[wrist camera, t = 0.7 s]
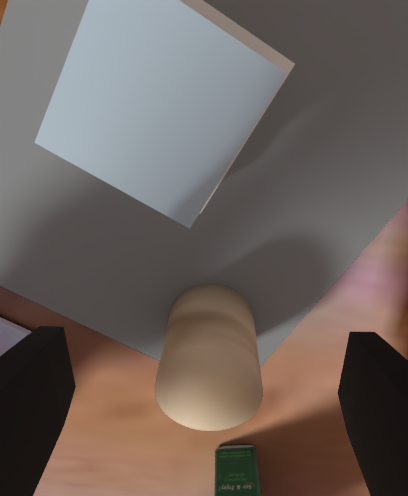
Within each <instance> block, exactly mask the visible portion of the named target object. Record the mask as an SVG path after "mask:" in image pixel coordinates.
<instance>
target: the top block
mask: <svg viewBox="0 0 408 496" xmlns="http://www.w3.org/2000/svg"><path fill="white" fill-rule="evenodd" d="M286 75H287V73H285V72H284V71H283V70H281V69H280V68H278V67H277V66H275V65H274V64H272V63H271V62H269V61H268V60H266V59H265V58H263V57H262V56H260V55H259V54H258V53H256V52H255V51H253V50H252V49H250V48H249V47H247V46H246V45H244V44H243V43H241V42H240V41H238V40H237V39H235V38H234V37H233V36H231V35H230V34H228V33H227V32H225V31H224V30H222V29H221V28H219V27H218V26H216V25H215V24H213V23H212V22H210V21H209V20H208V19H206V18H205V17H203V16H202V15H200V14H199V13H197V12H196V11H194V10H193V9H191V8H190V7H188V6H187V5H185V4H184V3H183V2H181V1H180V0H89V1H88V4H87V6H86V9H85V12H84V14H83V17H82V19H81V22H80V25H79V27H78V30H77V33H76V35H75V38H74V40H73V43H72V46H71V48H70V51H69V53H68V56H67V59H66V61H65V64H64V67H63V69H62V72H61V74H60V77H59V80H58V82H57V85H56V87H55V90H54V93H53V95H52V98H51V101H50V103H49V106H48V108H47V111H46V114H45V116H44V119H43V121H42V124H41V127H40V129H39V132H38V135H37V137H36V140H35V142H34V143H36V144H38V145H40V146H41V147H43V148H45V149H47V150H49V151H50V152H52V153H54V154H56V155H58V156H59V157H61V158H63V159H65V160H67V161H68V162H70V163H72V164H74V165H76V166H77V167H79V168H81V169H83V170H85V171H86V172H88V173H90V174H92V175H94V176H95V177H97V178H99V179H101V180H103V181H105V182H106V183H108V184H110V185H112V186H114V187H115V188H117V189H119V190H121V191H123V192H124V193H126V194H128V195H130V196H132V197H133V198H135V199H137V200H139V201H141V202H142V203H144V204H146V205H148V206H150V207H151V208H153V209H155V210H157V211H159V212H160V213H162V214H164V215H166V216H168V217H170V218H171V219H173V220H175V221H177V222H179V223H180V224H182V225H184V226H186V227H188V228H189V229H190V228H191V226H192V224H193V223H194V221H195V220H196V218H197V216H198V215H199V213H200V212H201V210H202V208H203V207H204V205H205V204H206V202H207V201H208V199H209V197H210V196H211V194H212V193H213V191H214V189H215V188H216V186H217V185H218V183H219V181H220V180H221V178H222V177H223V175H224V173H225V172H226V170H227V169H228V167H229V166H230V164H231V162H232V161H233V159H234V158H235V156H236V154H237V153H238V151H239V150H240V148H241V146H242V145H243V143H244V142H245V140H246V139H247V137H248V135H249V134H250V132H251V131H252V129H253V127H254V126H255V124H256V123H257V121H258V119H259V118H260V116H261V115H262V113H263V111H264V110H265V108H266V107H267V105H268V104H269V102H270V100H271V99H272V97H273V96H274V94H275V92H276V91H277V89H278V88H279V86H280V84H281V83H282V81H283V80H284V78H285V77H286Z"/></svg>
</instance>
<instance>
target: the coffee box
mask: <svg viewBox="0 0 408 496" xmlns="http://www.w3.org/2000/svg"><path fill="white" fill-rule="evenodd" d="M215 496H262V494H261V487H260V479H259V472H258V464H257V457H256V448H255V446H253V445H232V446H222V447H220V448H218V449H216V450H215Z"/></svg>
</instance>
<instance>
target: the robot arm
mask: <svg viewBox="0 0 408 496" xmlns="http://www.w3.org/2000/svg"><path fill="white" fill-rule="evenodd" d="M75 387H76V386H75V382H74V377H73V372H72V367H71V362H70V357H69V352H68V347H67V342H66V337H65V332H64V327H51V326H40V327H38V328H37V329H35V330H34V331H33V332H32V331H29V330H27V329H25V328H23V327H21V326H18V325H16V324H14V323H12V322H10V321H7V320H5V319H3V318H1V317H0V496H33V494H34V492H35V490H36V487H37V485H38V483H39V481H40V478H41V476H42V474H43V472H44V469H45V467H46V465H47V463H48V461H49V458H50V456H51V454H52V451H53V449H54V447H55V445H56V442H57V440H58V438H59V436H60V433H61V431H62V428H63V426H64V423H65V420H66V417H67V414H68V411H69V408H70V404H71V401H72V397H73V394H74V390H75ZM338 396H339V400H340V404H341V409H342V413H343V417H344V421H345V425H346V429H347V433H348V436H349V438H350V441H351V444H352V447H353V449H354V452H355V455H356V458H357V460H358V463H359V466H360V468H361V471H362V474H363V476H364V479H365V482H366V484H367V487H368V490H369V492H370V495H371V496H408V360H406V359H405V358H404V357H403V356H402V355H401V354H400V353H399V352H397V351H396V350H395V349H394V348H393V347H392V346H391V345H389V344H388V343H387V342H386V341H385V340H384V339H383V338H381V337H380V336H379V335H378V334H376V333H375V332H350V334H349V339H348V344H347V349H346V354H345V359H344V364H343V369H342V374H341V379H340V384H339V389H338Z"/></svg>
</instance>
